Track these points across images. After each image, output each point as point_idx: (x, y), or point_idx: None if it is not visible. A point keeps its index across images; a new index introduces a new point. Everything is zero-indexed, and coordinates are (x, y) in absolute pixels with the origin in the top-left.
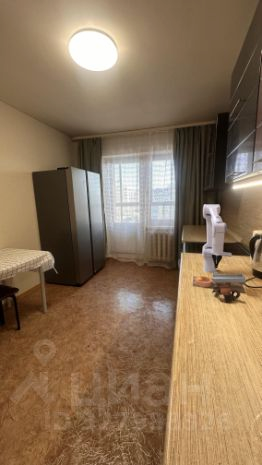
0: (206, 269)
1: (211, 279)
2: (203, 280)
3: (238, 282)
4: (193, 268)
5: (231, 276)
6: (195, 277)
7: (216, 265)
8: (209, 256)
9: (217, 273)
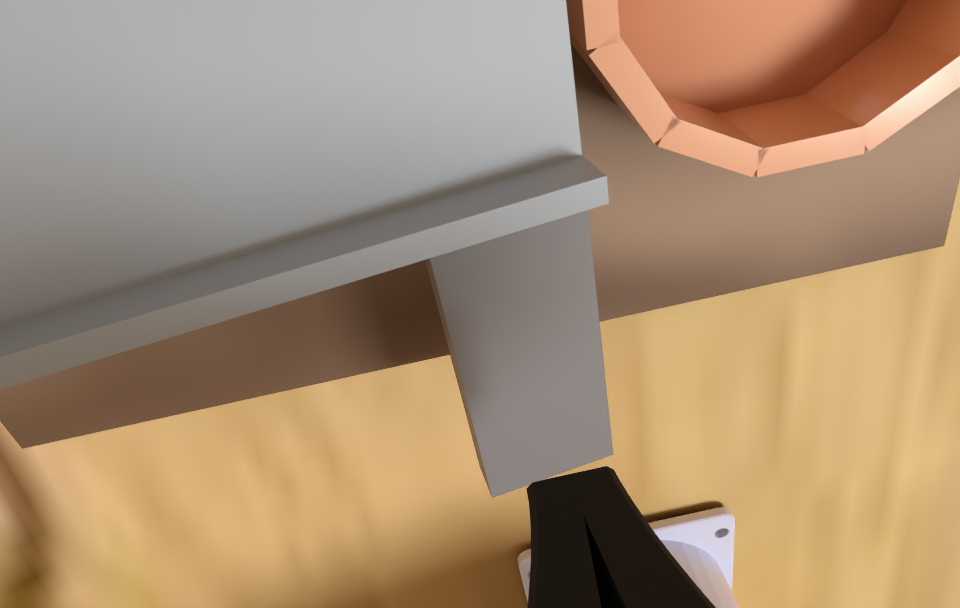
0: (698, 580)
1: (599, 50)
2: (759, 99)
3: (59, 410)
4: (869, 564)
5: (24, 307)
6: (914, 202)
7: (591, 564)
8: None
9: (488, 401)
